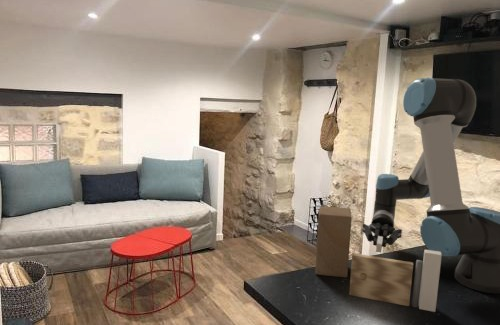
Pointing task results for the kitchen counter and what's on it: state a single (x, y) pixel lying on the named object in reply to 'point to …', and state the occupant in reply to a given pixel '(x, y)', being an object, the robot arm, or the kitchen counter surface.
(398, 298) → the gate
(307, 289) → the kitchen counter surface
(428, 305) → the wall stub
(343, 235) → the wooden block
